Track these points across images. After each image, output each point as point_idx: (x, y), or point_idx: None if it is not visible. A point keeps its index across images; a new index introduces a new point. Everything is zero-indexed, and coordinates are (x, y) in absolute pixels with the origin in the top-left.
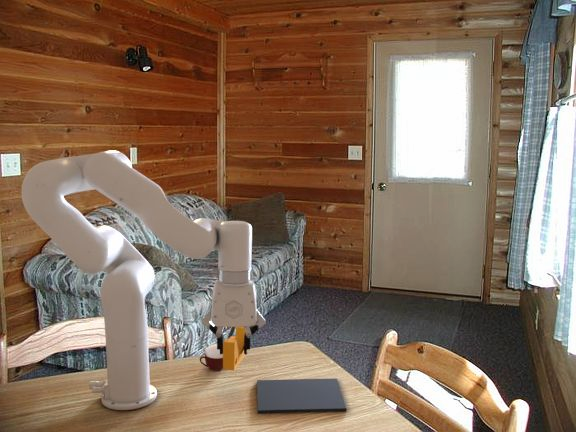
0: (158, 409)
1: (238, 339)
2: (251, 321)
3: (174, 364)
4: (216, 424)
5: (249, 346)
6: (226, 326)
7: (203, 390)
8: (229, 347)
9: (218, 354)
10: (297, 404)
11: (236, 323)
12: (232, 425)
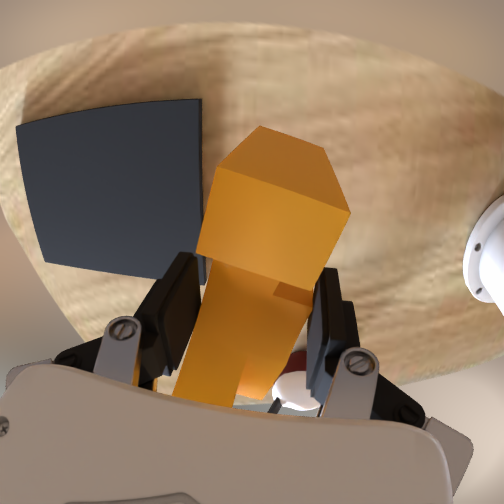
0: (473, 178)
1: (222, 364)
2: (24, 394)
3: (387, 376)
4: (331, 49)
5: (155, 286)
6: (295, 418)
7: (354, 262)
8: (281, 169)
9: (302, 379)
10: (95, 136)
11: (166, 429)
12: (281, 36)
